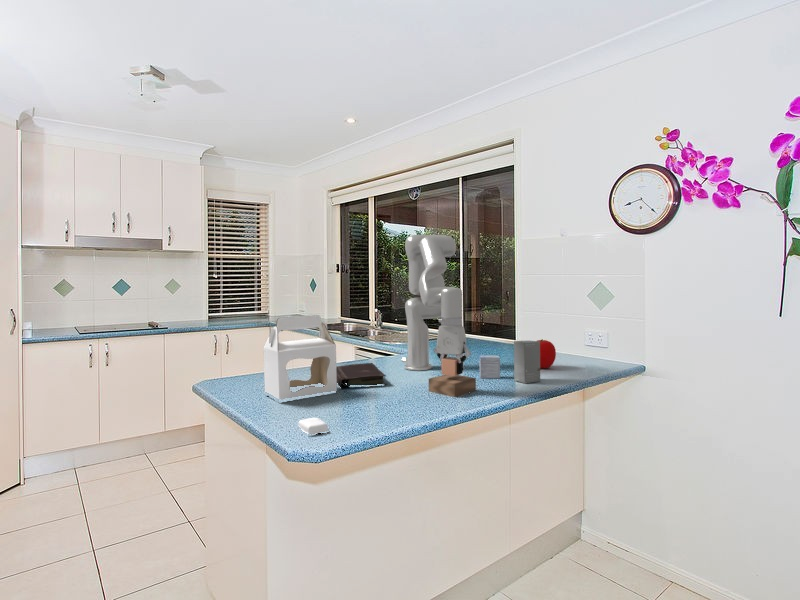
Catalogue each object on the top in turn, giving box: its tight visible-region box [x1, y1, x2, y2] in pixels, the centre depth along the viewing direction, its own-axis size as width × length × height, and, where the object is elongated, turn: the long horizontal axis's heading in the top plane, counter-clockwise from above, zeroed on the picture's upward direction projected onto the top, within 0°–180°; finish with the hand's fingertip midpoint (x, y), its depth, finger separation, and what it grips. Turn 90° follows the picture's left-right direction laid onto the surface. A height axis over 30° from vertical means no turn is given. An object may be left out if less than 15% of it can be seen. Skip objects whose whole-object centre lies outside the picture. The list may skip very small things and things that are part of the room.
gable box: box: [263, 314, 338, 399], centre depth 171 cm, size 22×13×28 cm, turn 126°
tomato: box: [536, 338, 557, 369], centre depth 212 cm, size 11×11×13 cm
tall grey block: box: [513, 340, 541, 384], centre depth 187 cm, size 8×7×16 cm
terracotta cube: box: [440, 356, 463, 376], centre depth 173 cm, size 6×6×6 cm
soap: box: [297, 416, 330, 434], centre depth 132 cm, size 9×7×3 cm
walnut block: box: [428, 374, 477, 398], centre depth 173 cm, size 12×12×5 cm
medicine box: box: [479, 355, 501, 379], centre depth 195 cm, size 8×4×9 cm, turn 84°
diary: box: [336, 362, 387, 388], centre depth 192 cm, size 19×25×5 cm
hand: (452, 372), depth 173 cm, fingers closed on terracotta cube, 5 cm apart
